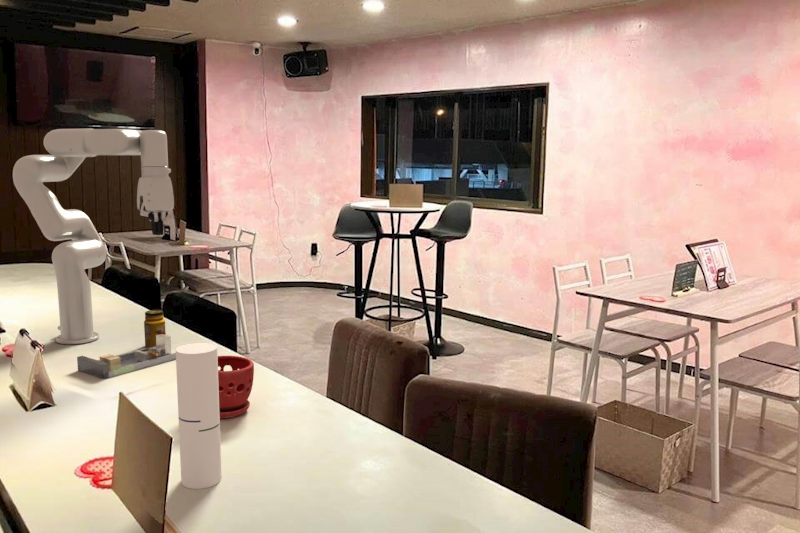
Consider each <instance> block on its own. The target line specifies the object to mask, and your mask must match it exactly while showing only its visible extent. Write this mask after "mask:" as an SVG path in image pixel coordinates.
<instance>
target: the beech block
mask: <svg viewBox="0 0 800 533" xmlns="http://www.w3.org/2000/svg"><path fill="white" fill-rule="evenodd" d="M99 360H100V361H101V362H105V363H108V368H109V371H110V370H113V369H117V368H121V359H120V357H118V356H116V355H114V354H111V353H110V354H105V355H100V356H99Z"/></svg>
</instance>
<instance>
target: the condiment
mask: <svg viewBox="0 0 800 533" xmlns="http://www.w3.org/2000/svg"><path fill="white" fill-rule="evenodd" d="M143 325H144V326H143V328H144V329H143V330H144V332H143V333H144V347H145V348H148V347H152V346H156V335H160V334H164V335H167V334H166V320H165V319H164V311H163V310H162V309H151V310H146V311H145V313H144V321H143ZM156 349H157V346H156Z"/></svg>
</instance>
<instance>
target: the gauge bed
mask: <svg viewBox="0 0 800 533" xmlns="http://www.w3.org/2000/svg"><path fill="white" fill-rule="evenodd" d="M153 349H157V348H156V346H152V347H148V348H146V347H145V348H144V347H143V348H140V349H138V350H139V351H143V352H145V351H149V350H153ZM134 351H135V350H133V351H129V352H125V353H120V354H117V355H115V356H118V357H120V359H121V368H117V369H113V370H110V371H109V368H108V363H105V362H101V361H100V359H94V358H91V357H87V356H84V355H81V356H80V355H79V356H77V357H76V360H77V361H76V362H77V372H80V373H84V374H87V375H89V376H93V377H96V378H99V379H102V380H106V379H111V378H113V377H117V376H120V375H121V376H122V375H124V374H127V373H130V372H135V371H138V370H141V369H145V368H146V369H147V368H149V367H152V366H156V365H160V364H163V363H166V362H167V363H168V362H170V361H171V362H172V361H174V360H175V361H176V352H173V353H171V354H170V353H165V354H162V356H158V357H154V358H150V359H149V360H147V361H140V360H137V359H135V356H134Z"/></svg>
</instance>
